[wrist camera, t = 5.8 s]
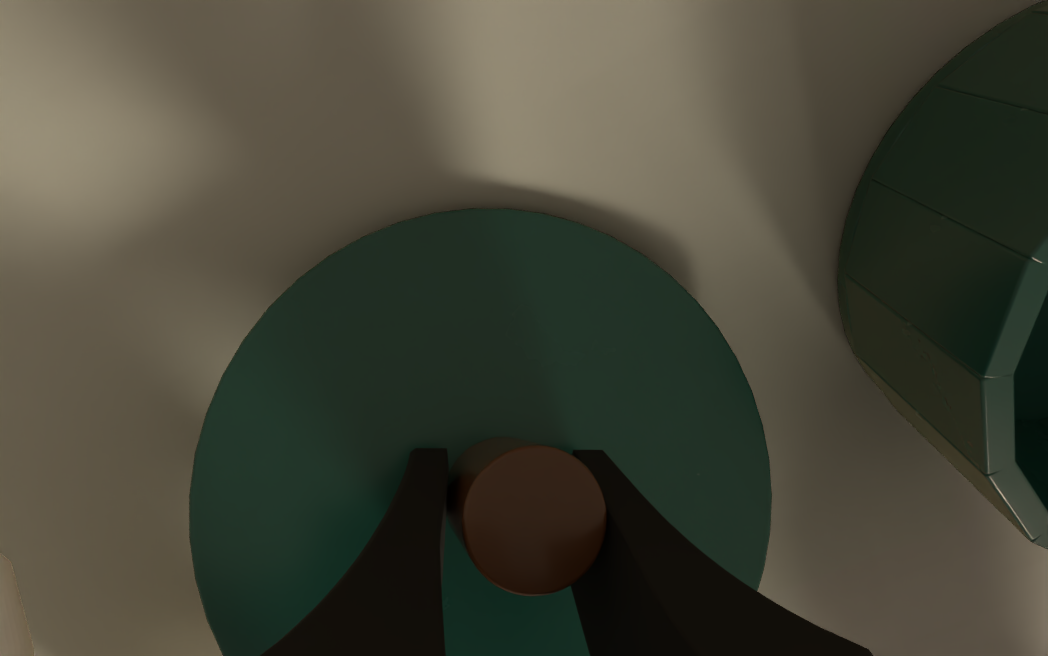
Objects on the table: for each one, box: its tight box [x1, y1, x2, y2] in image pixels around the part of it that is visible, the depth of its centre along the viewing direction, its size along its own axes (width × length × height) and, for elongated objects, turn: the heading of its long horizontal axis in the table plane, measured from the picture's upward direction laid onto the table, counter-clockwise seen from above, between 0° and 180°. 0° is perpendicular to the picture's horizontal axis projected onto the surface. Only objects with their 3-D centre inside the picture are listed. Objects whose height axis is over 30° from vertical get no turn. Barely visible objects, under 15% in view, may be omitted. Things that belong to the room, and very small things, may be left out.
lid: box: [189, 208, 772, 656], centre depth 14 cm, size 12×12×4 cm
